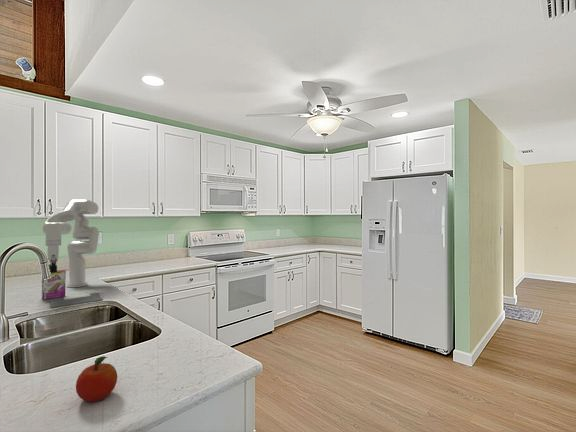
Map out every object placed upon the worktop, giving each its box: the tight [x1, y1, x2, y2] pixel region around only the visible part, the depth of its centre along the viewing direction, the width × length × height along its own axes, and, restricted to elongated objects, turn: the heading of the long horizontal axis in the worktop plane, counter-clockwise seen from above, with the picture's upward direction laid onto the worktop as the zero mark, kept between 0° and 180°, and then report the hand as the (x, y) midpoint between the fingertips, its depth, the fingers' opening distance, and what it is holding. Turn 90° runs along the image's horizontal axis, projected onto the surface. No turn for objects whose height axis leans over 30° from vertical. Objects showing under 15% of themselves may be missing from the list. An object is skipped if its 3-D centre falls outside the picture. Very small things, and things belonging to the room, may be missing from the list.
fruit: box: [75, 356, 118, 403], centre depth 82 cm, size 10×10×10 cm
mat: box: [49, 292, 103, 309], centre depth 178 cm, size 20×24×1 cm
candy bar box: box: [41, 268, 67, 301], centre depth 184 cm, size 11×5×16 cm, turn 134°
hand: (53, 271), depth 184 cm, fingers open, 9 cm apart
